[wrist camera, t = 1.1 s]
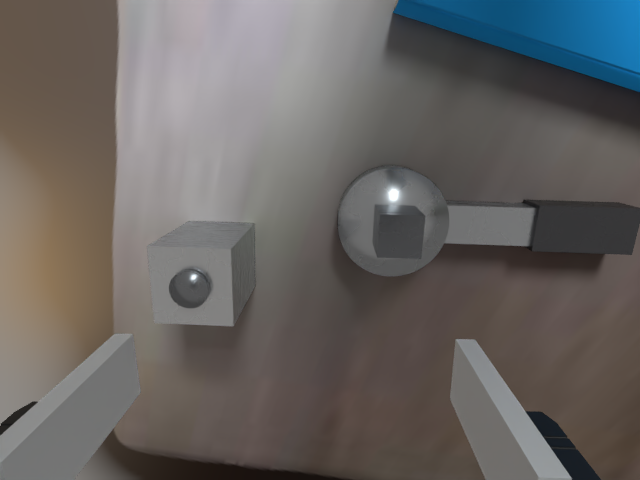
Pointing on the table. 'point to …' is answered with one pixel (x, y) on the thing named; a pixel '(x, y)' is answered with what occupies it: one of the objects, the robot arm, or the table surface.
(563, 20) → the book
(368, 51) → the table surface
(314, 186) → the table surface
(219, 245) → the grey block with knob
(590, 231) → the ratchet
